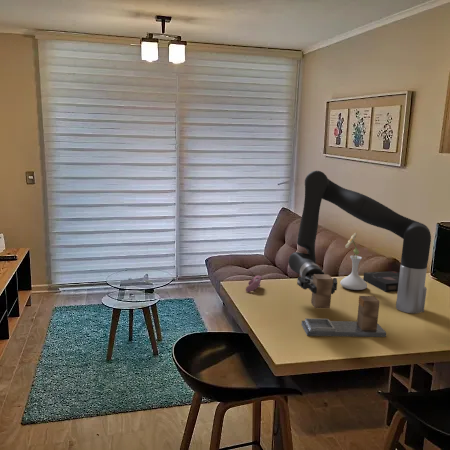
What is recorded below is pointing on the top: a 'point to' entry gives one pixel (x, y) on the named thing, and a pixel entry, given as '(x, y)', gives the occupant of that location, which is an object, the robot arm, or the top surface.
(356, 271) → the flower in vase
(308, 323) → the rail
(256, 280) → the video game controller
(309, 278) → the robot arm
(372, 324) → the block
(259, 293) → the top surface
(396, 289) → the portable cd player
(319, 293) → the walnut finger
